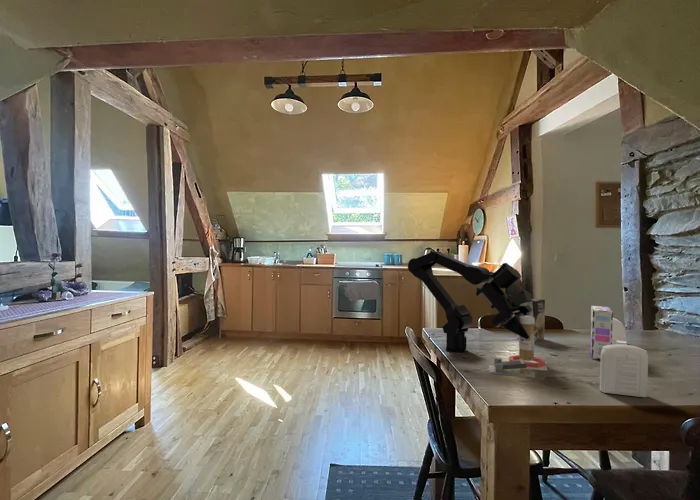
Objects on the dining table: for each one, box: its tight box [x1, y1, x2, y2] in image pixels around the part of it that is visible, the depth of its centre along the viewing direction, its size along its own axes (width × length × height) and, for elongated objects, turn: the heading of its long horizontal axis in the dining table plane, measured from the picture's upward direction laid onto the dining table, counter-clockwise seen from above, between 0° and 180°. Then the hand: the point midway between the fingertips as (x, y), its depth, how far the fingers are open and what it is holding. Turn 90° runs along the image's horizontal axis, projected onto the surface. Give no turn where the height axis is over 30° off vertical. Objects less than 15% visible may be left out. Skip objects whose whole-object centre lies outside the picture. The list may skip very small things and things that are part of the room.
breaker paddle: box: [499, 360, 527, 370], centre depth 119 cm, size 1×4×8 cm
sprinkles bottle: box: [518, 316, 535, 361], centre depth 127 cm, size 5×5×14 cm
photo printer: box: [599, 344, 649, 398], centre depth 102 cm, size 10×4×12 cm, turn 72°
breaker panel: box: [488, 357, 536, 379], centre depth 119 cm, size 12×7×3 cm, turn 74°
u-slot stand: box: [612, 317, 628, 345], centre depth 154 cm, size 10×18×11 cm, turn 149°
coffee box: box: [520, 297, 546, 343], centre depth 164 cm, size 9×6×16 cm
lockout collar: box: [507, 354, 548, 371], centre depth 127 cm, size 10×10×2 cm
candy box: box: [590, 305, 614, 361], centre depth 139 cm, size 14×6×16 cm, turn 151°
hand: (531, 337), depth 126 cm, fingers closed on sprinkles bottle, 4 cm apart
